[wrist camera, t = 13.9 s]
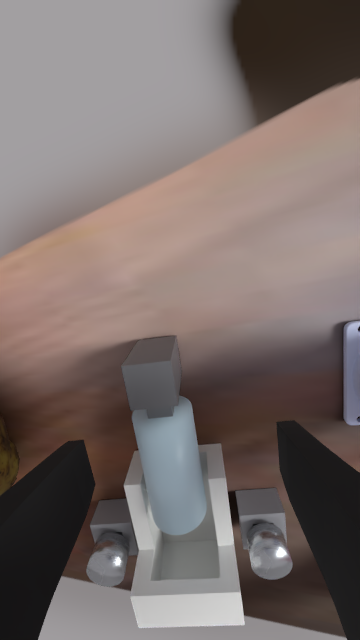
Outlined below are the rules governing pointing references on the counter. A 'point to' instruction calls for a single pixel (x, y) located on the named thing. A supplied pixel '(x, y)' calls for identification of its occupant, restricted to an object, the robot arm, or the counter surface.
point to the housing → (187, 548)
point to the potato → (7, 459)
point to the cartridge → (165, 435)
